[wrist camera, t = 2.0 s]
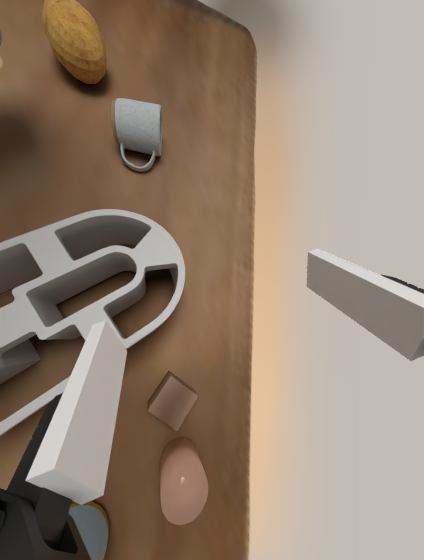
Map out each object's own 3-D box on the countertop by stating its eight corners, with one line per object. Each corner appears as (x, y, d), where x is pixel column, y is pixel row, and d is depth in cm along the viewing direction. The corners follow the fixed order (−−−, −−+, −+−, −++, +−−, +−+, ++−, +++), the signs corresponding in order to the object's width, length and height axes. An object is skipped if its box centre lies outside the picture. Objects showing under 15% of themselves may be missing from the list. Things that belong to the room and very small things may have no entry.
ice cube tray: (-64, 317, 24) (-176, 306, 16) (143, 226, 34) (140, 191, 26) (2, 437, 22) (-85, 492, 14) (197, 302, 33) (210, 291, 25)
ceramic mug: (120, 127, 39) (111, 80, 32) (162, 137, 41) (163, 95, 34) (114, 170, 36) (104, 129, 29) (160, 177, 38) (161, 141, 31)
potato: (101, 54, 43) (88, -17, 35) (118, 98, 41) (109, 34, 32) (51, 49, 40) (23, -31, 31) (67, 97, 37) (41, 24, 29)
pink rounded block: (151, 461, 25) (150, 496, 19) (182, 428, 27) (189, 451, 21) (175, 494, 25) (180, 539, 19) (204, 458, 27) (217, 489, 21)
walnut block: (148, 400, 27) (147, 410, 23) (168, 370, 29) (170, 375, 24) (174, 418, 27) (177, 431, 23) (192, 388, 29) (198, 395, 25)
